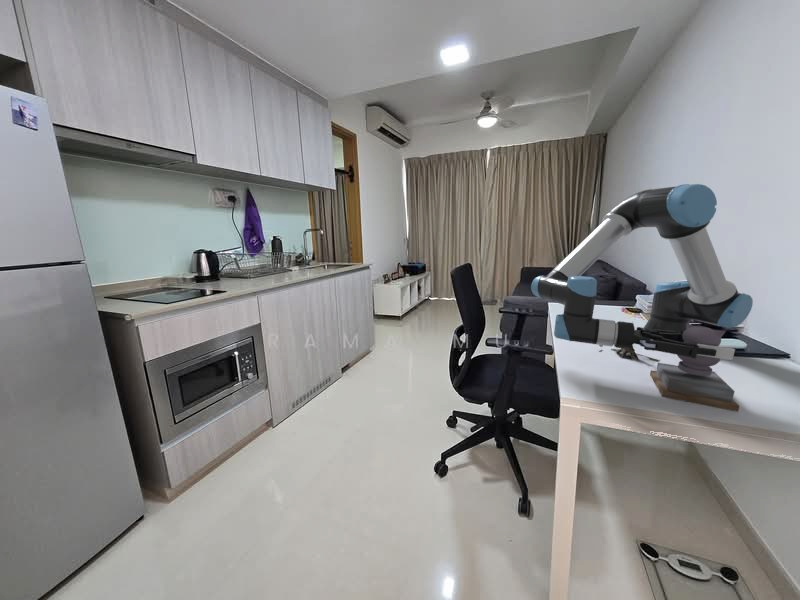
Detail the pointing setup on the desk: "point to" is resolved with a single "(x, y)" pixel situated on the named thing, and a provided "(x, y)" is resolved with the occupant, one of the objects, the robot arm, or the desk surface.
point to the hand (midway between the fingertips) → (725, 348)
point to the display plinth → (693, 387)
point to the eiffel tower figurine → (629, 354)
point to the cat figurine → (700, 362)
